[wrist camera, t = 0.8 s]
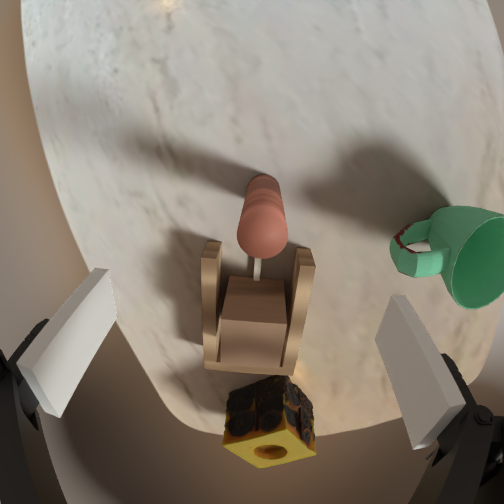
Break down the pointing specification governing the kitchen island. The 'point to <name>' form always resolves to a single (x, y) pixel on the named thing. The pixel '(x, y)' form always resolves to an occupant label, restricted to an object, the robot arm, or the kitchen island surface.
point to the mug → (457, 253)
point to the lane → (295, 316)
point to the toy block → (269, 423)
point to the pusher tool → (257, 283)
